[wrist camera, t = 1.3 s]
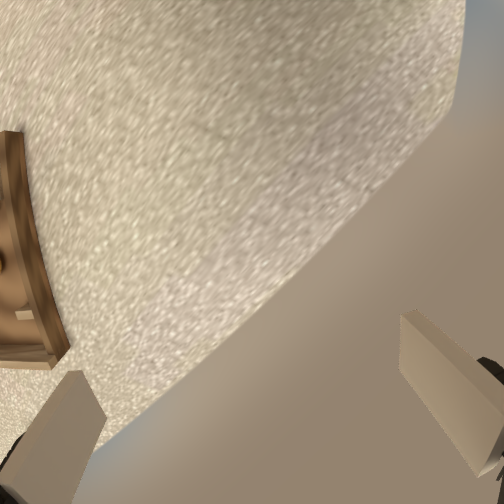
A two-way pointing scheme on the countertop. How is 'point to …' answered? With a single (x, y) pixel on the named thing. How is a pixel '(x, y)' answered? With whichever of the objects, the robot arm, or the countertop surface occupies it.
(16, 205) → the lane
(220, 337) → the countertop surface
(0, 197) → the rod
